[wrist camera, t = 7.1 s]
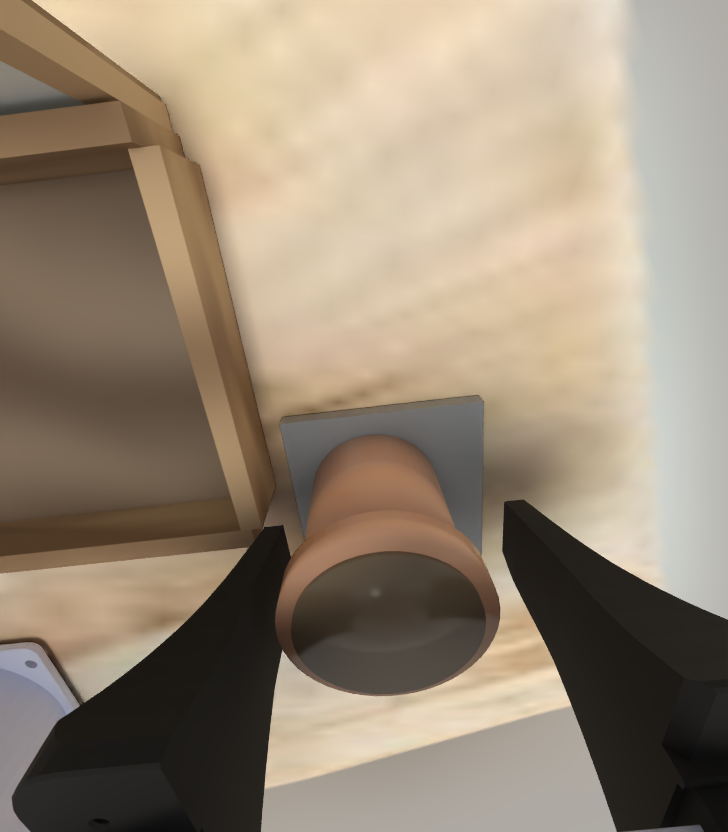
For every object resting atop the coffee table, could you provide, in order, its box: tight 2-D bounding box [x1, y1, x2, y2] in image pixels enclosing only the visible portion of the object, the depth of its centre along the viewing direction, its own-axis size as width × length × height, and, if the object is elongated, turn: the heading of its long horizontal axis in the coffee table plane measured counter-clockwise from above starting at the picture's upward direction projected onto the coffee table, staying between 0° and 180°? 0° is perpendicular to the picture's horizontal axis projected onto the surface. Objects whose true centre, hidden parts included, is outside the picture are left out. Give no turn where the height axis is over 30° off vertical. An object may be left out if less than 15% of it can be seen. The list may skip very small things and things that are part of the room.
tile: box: [279, 395, 484, 556], centre depth 15 cm, size 7×7×1 cm
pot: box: [275, 434, 500, 696], centre depth 12 cm, size 5×5×6 cm
